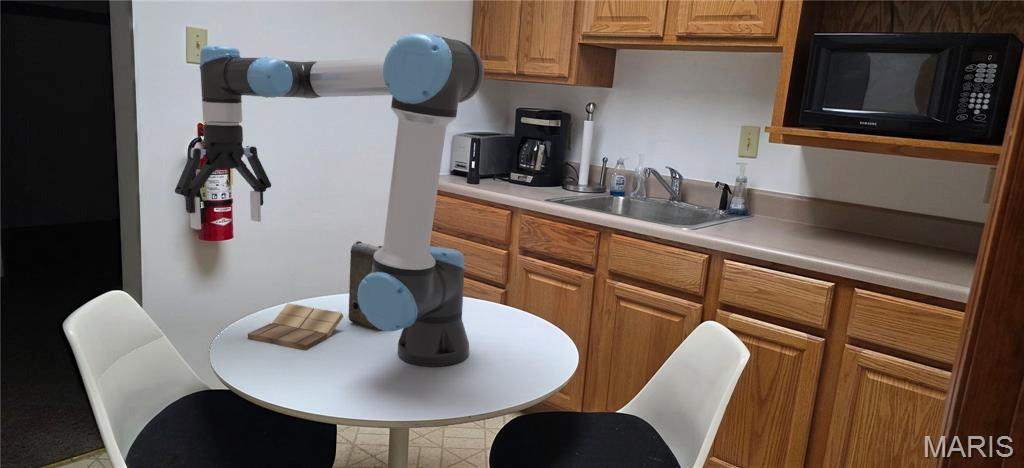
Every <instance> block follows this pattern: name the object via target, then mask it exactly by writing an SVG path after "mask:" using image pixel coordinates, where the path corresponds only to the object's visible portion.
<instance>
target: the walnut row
mask: <svg viewBox="0 0 1024 468" xmlns="http://www.w3.org/2000/svg"><path fill="white" fill-rule="evenodd" d="M247 339H248V340H251V341H252V340H253V341H258V342H263V343H267V344H272V345H277V346H283V347H287V348H293V349H297V350H303V351H308V350H309V349H311V348H313V347H315V346H317V345H318V344H321V343H323V342H324V341H326V340H327V339H328V337H327V334H324V333H319V332H314V331H309V330H304V329H299V328H293V327H288V326H283V325H280V324H279V325H277V324H272V322H271V323H268V324H265V325H263V326H261V327H259V328H257V329H254V330H252V331H250V332H248V333H247Z"/></svg>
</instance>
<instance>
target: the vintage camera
mask: <svg viewBox="0 0 1024 468" xmlns="http://www.w3.org/2000/svg"><path fill="white" fill-rule="evenodd" d="M381 247H383V245H378V246H375V245H372V244H369V243H366V242H365V243H363V242H362V241H359V240H358V241H356V242H354V243H353V244H352V246H351V248H350V258H349V259H350V263H349V285H348V286H349V290H348V294H349V296H348V320H349V321H350V322H351V323H353V324H357V325H360V326H363V327H367V328H370V329H373V330H376V331H383V330H382V329H379V328H377V327H376V326H374V325H373V324H372V323H370V322H369V321H368V319H367V317H366V315H365V314H363V313H362V311H361V309H360V306H359V303H358V288H359V285H360V283H361V281H362V280H363V279H364V278H365V277H366V276H367V275H368V274H370V273H372V265H373V257H374V253H375V252H376V251H377V250H379V249H380V248H381Z"/></svg>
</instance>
